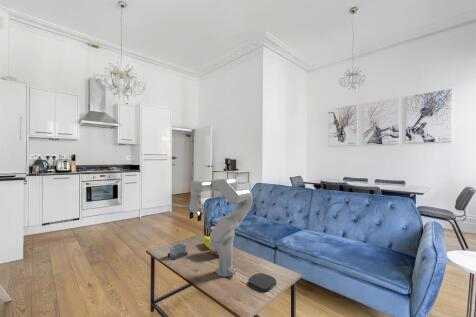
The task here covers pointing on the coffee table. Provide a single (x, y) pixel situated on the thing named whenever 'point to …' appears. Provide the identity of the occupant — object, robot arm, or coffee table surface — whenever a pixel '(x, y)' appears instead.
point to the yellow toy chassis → (207, 241)
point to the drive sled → (178, 255)
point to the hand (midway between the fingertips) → (195, 219)
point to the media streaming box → (262, 282)
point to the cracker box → (213, 245)
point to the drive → (177, 249)
